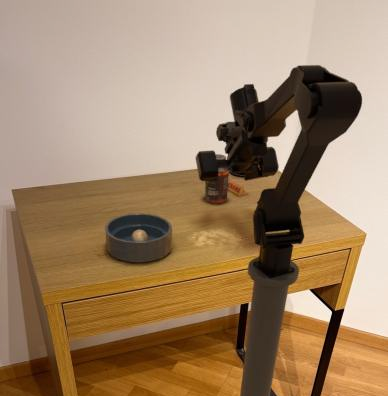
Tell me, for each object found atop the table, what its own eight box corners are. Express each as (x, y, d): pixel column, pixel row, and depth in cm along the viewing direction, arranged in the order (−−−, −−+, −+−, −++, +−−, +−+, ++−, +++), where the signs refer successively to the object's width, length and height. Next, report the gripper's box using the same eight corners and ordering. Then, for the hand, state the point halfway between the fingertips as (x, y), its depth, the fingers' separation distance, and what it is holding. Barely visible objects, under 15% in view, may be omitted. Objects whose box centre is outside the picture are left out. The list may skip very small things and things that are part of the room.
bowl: (183, 255, 106) (183, 234, 103) (121, 270, 101) (120, 248, 98) (155, 229, 116) (154, 209, 113) (97, 241, 111) (95, 220, 107)
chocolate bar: (221, 179, 142) (221, 172, 141) (246, 194, 134) (247, 186, 133) (213, 181, 141) (214, 173, 140) (238, 195, 133) (239, 187, 132)
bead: (149, 229, 106) (134, 234, 104) (152, 245, 108) (137, 250, 106) (141, 226, 108) (127, 230, 107) (144, 241, 110) (130, 246, 109)
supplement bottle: (227, 196, 133) (230, 153, 126) (226, 205, 128) (229, 161, 121) (205, 194, 133) (207, 152, 126) (203, 203, 129) (205, 159, 121)
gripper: (280, 110, 108) (256, 146, 123) (199, 113, 104) (184, 151, 119) (290, 158, 107) (265, 189, 122) (208, 163, 103) (192, 195, 118)
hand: (227, 180), depth 121 cm, fingers open, 9 cm apart
